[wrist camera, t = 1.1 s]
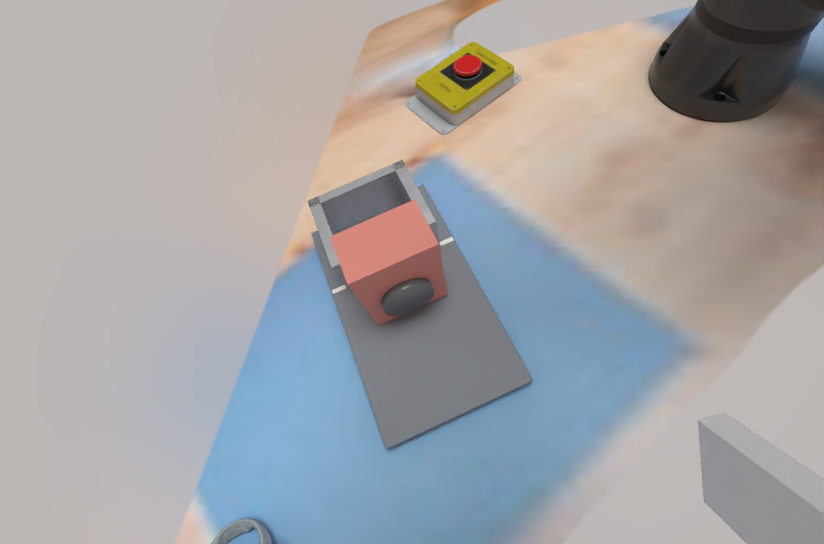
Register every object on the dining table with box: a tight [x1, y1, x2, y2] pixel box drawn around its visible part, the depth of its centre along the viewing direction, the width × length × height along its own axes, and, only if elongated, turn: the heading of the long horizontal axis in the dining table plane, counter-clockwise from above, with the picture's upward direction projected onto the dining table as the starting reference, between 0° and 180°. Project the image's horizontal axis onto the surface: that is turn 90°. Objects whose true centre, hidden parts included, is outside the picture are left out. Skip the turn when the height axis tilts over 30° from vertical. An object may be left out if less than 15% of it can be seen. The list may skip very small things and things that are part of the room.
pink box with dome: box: [330, 199, 448, 326], centre depth 37 cm, size 8×6×11 cm
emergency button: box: [406, 42, 521, 135], centre depth 55 cm, size 9×4×15 cm
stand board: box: [311, 185, 533, 449], centre depth 42 cm, size 15×26×2 cm, turn 23°
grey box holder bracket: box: [308, 160, 441, 291], centre depth 43 cm, size 11×9×6 cm
